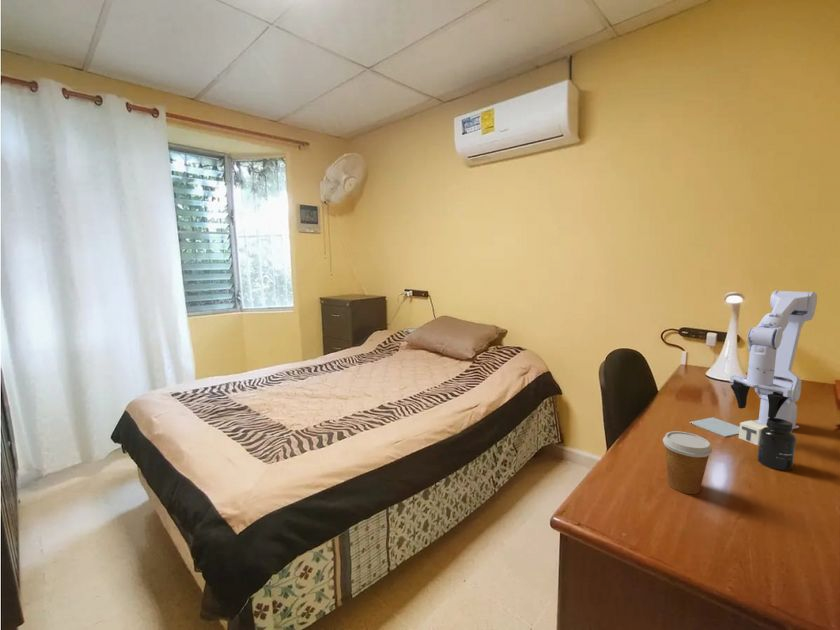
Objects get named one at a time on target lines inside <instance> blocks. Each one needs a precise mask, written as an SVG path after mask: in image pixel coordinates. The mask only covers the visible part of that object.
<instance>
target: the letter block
mask: <svg viewBox="0 0 840 630" xmlns="http://www.w3.org/2000/svg"><path fill="white" fill-rule="evenodd" d="M739 427H740V428H739V434H738V439H740V440H743V441H745V442H748V443H750V444H752V445H755V446H759V440H760V432H761V430H762V429H763V428H765V427H767V426H766V425H764V424H761V423H758V422H755V421H754V420H752V419H749V420H745V421H742V422H739Z"/></svg>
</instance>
